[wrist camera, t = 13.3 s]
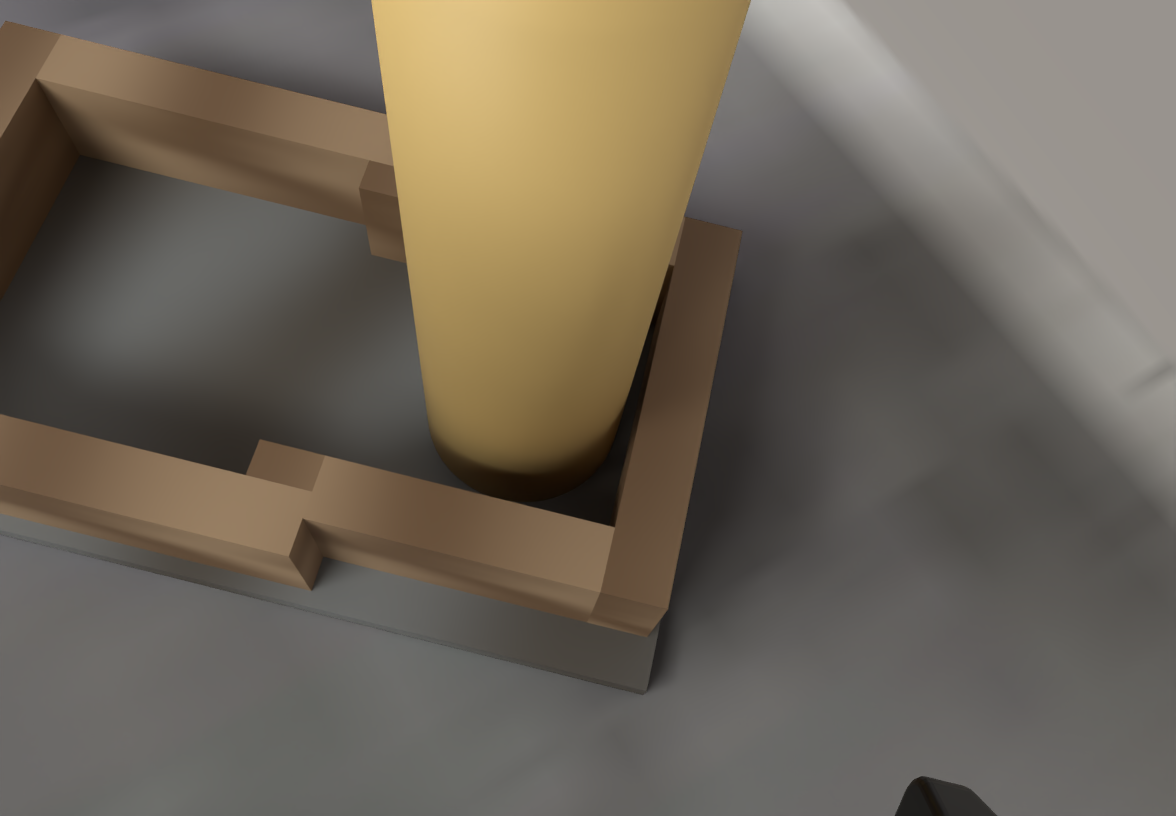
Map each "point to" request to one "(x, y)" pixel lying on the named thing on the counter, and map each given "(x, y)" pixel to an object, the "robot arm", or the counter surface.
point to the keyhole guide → (297, 373)
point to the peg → (542, 211)
